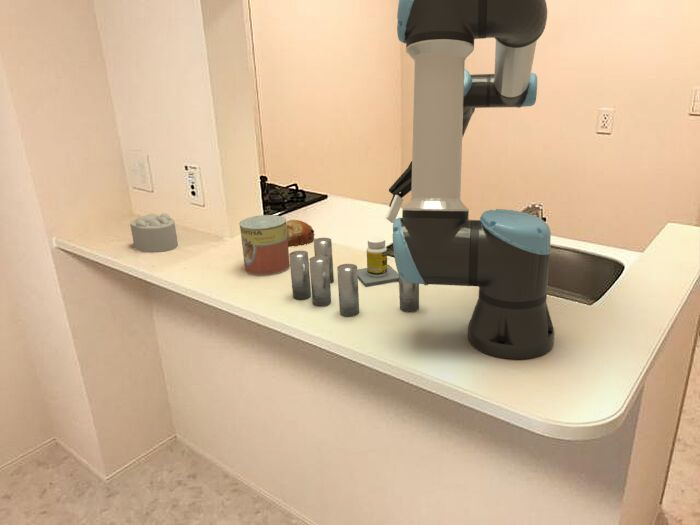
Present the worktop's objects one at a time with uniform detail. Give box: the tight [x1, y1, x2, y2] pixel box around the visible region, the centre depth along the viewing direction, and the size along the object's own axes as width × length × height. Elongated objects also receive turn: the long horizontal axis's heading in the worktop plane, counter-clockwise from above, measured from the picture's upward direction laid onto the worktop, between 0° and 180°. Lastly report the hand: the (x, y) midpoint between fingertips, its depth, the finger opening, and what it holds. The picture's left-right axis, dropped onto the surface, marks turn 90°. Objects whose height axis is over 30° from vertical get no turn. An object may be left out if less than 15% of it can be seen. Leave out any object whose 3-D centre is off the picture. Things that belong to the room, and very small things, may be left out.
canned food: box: [238, 214, 291, 277], centre depth 147 cm, size 11×11×12 cm
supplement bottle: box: [366, 236, 388, 277], centre depth 138 cm, size 5×5×8 cm
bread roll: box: [286, 219, 315, 247], centre depth 167 cm, size 10×10×8 cm
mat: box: [357, 264, 399, 288], centre depth 140 cm, size 9×9×1 cm
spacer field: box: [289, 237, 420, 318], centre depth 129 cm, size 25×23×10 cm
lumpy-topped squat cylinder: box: [129, 213, 179, 254], centre depth 168 cm, size 10×13×9 cm
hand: (410, 224), depth 144 cm, fingers open, 13 cm apart
